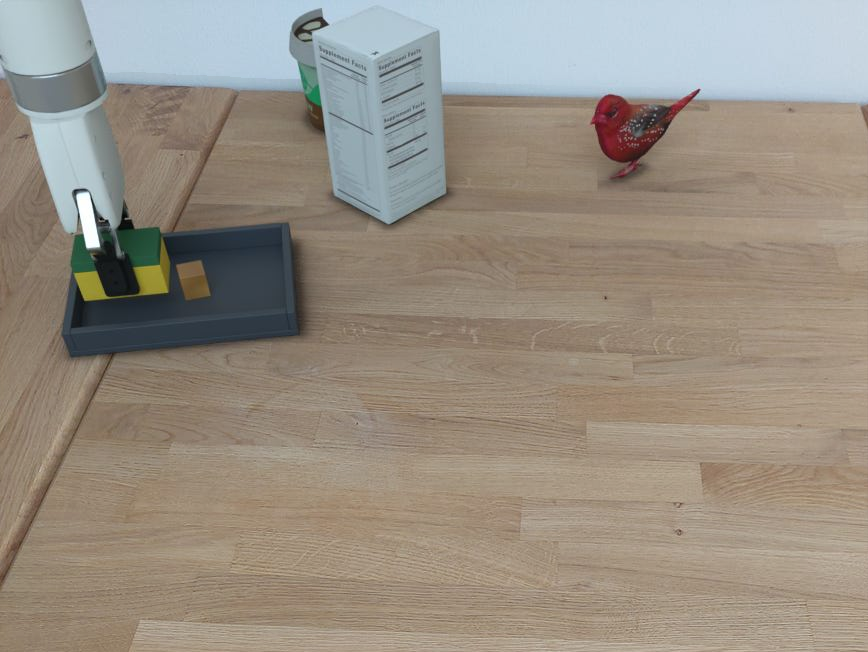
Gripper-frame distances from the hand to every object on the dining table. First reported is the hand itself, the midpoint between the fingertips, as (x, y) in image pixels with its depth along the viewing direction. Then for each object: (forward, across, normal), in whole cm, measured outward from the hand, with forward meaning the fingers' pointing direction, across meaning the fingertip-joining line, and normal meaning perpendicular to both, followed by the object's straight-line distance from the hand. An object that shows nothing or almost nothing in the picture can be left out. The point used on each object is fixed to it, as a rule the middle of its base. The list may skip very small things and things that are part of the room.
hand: (124, 274), depth 94 cm
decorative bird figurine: (+4, -17, +56) cm, 59 cm away
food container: (+4, -34, +21) cm, 40 cm away
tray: (+3, 0, +5) cm, 6 cm away
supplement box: (+4, -16, +27) cm, 32 cm away
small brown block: (+3, 0, +6) cm, 7 cm away
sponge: (+1, 0, 0) cm, 1 cm away
